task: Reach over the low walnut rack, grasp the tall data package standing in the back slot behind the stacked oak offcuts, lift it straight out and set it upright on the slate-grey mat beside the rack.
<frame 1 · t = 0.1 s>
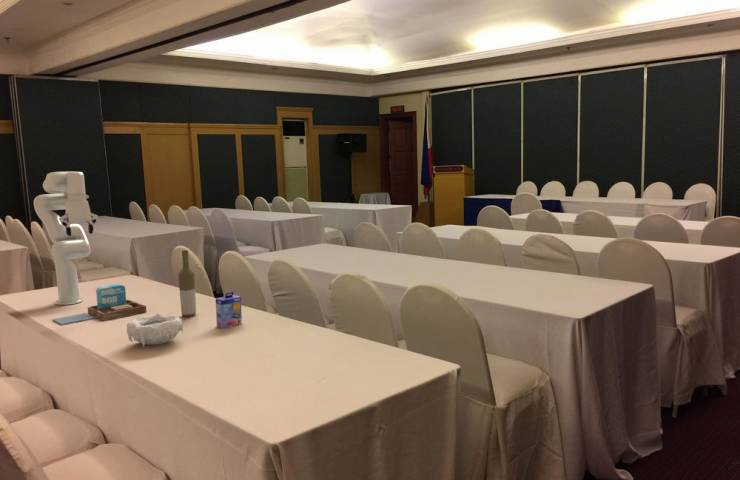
hand: (80, 234, 278), 37 cm above the table, tool pointing down, fingers open, 9 cm apart
bowl: (156, 343, 228), on the table
offcut stack: (121, 315, 273), resting in rack
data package: (112, 311, 280), resting in rack
rack: (116, 312, 277), on the table
bottle: (189, 316, 268), on the table
ink cartridge box: (229, 325, 251), on the table
mat: (73, 319, 265), on the table
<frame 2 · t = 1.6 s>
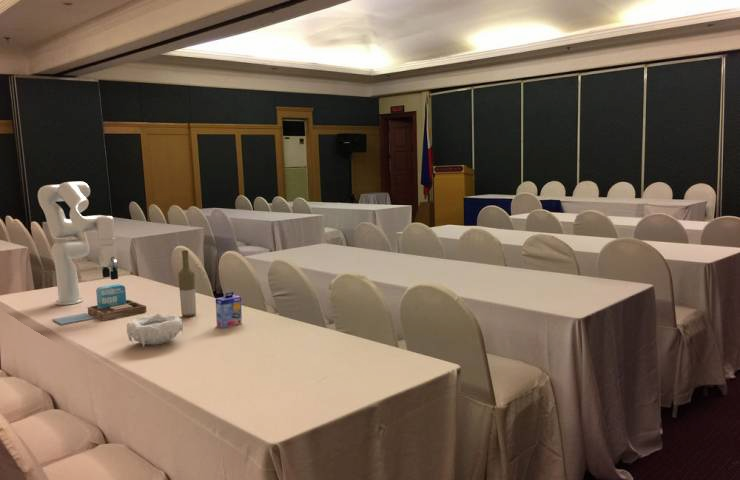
hand: (110, 278, 278), 16 cm above the table, tool pointing down, fingers open, 9 cm apart
nothing on the table moved.
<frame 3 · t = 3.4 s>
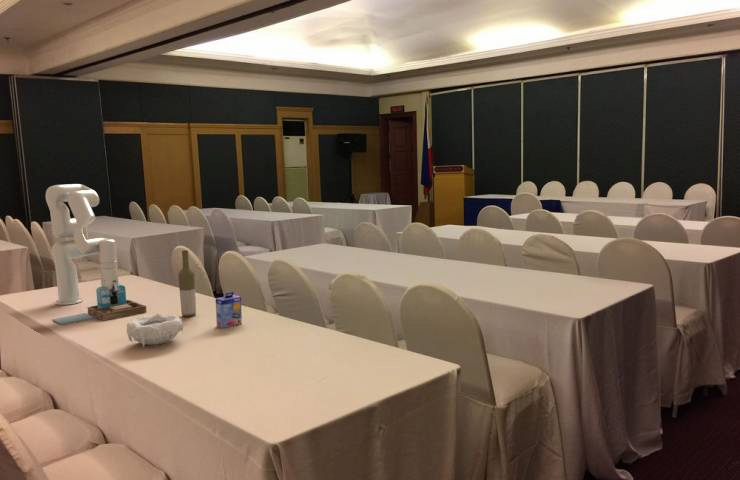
hand: (112, 302, 280), 4 cm above the table, tool pointing down, fingers closed on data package, 4 cm apart
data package: (112, 311, 280), resting in rack, touching gripper
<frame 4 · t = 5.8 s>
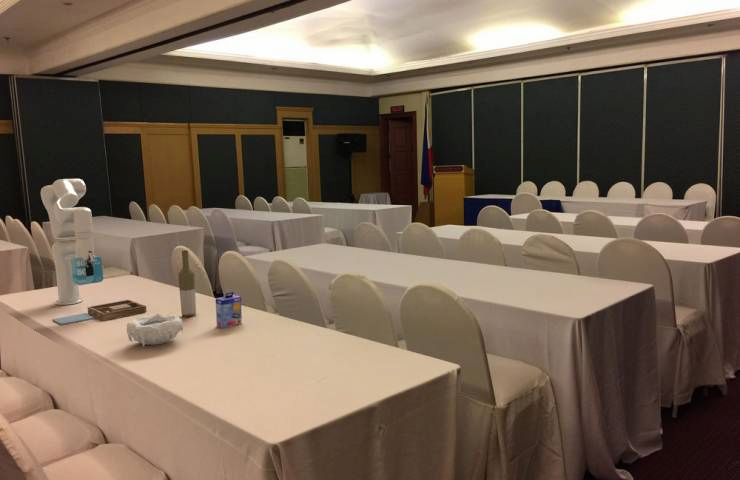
hand: (87, 274, 269), 19 cm above the table, tool pointing down, fingers closed on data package, 4 cm apart
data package: (88, 283, 270), point 15 cm above the table, touching gripper
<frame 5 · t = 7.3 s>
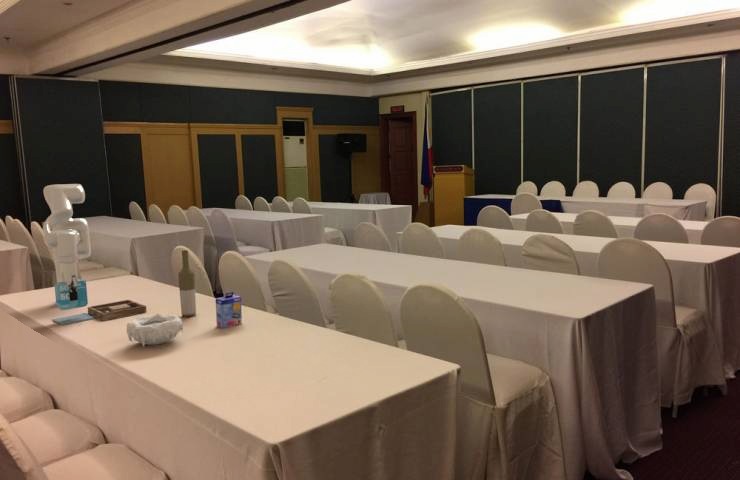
hand: (71, 299, 264), 10 cm above the table, tool pointing down, fingers closed on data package, 4 cm apart
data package: (72, 308, 265), point 5 cm above the table, touching gripper
when the fingers open (5 cm above the table, at t = 8.5 s): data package stays where it is, resting on mat.
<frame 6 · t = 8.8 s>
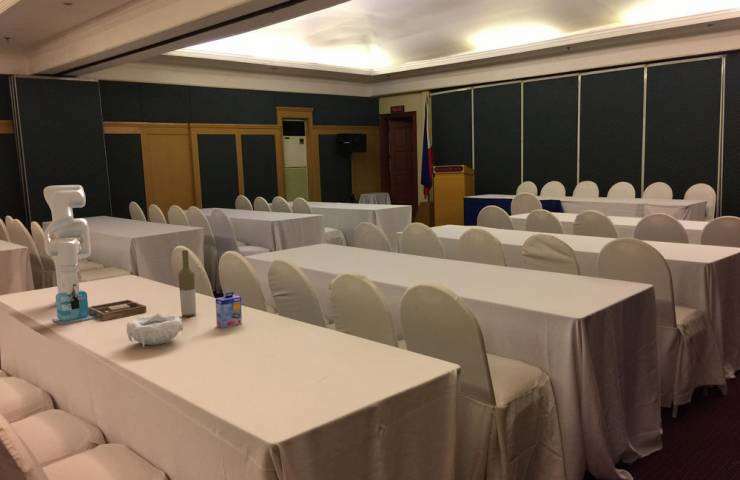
hand: (72, 307, 265), 6 cm above the table, tool pointing down, fingers open, 6 cm apart
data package: (73, 318, 266), resting on mat
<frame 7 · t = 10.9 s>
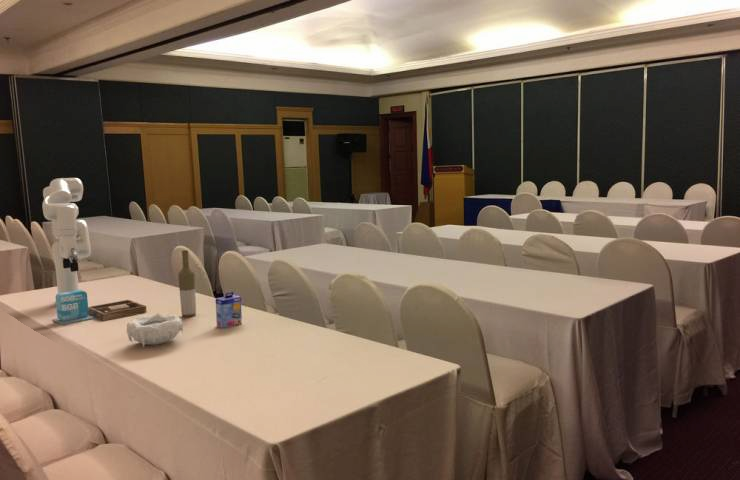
hand: (70, 269, 267), 22 cm above the table, tool pointing down, fingers open, 9 cm apart
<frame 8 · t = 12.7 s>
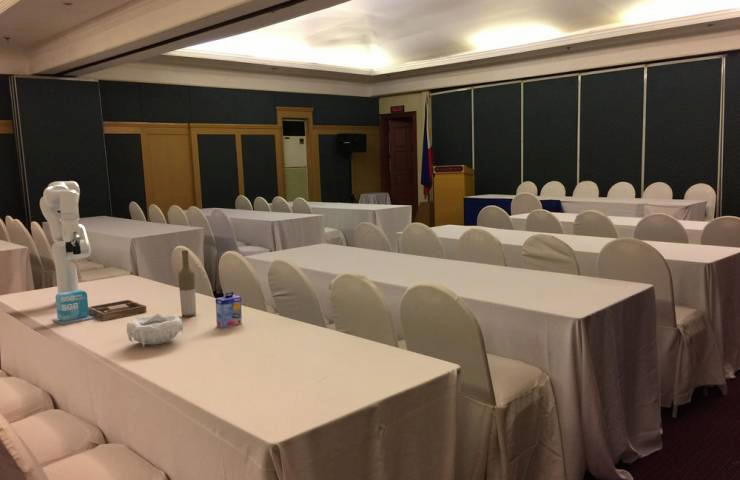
hand: (73, 253, 275), 28 cm above the table, tool pointing down, fingers open, 9 cm apart
at the end: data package inside the target area on the mat (0.3 cm from its centre), point 0.4 cm above the mat's base; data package tilted 0°; the gripper is holding nothing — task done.
